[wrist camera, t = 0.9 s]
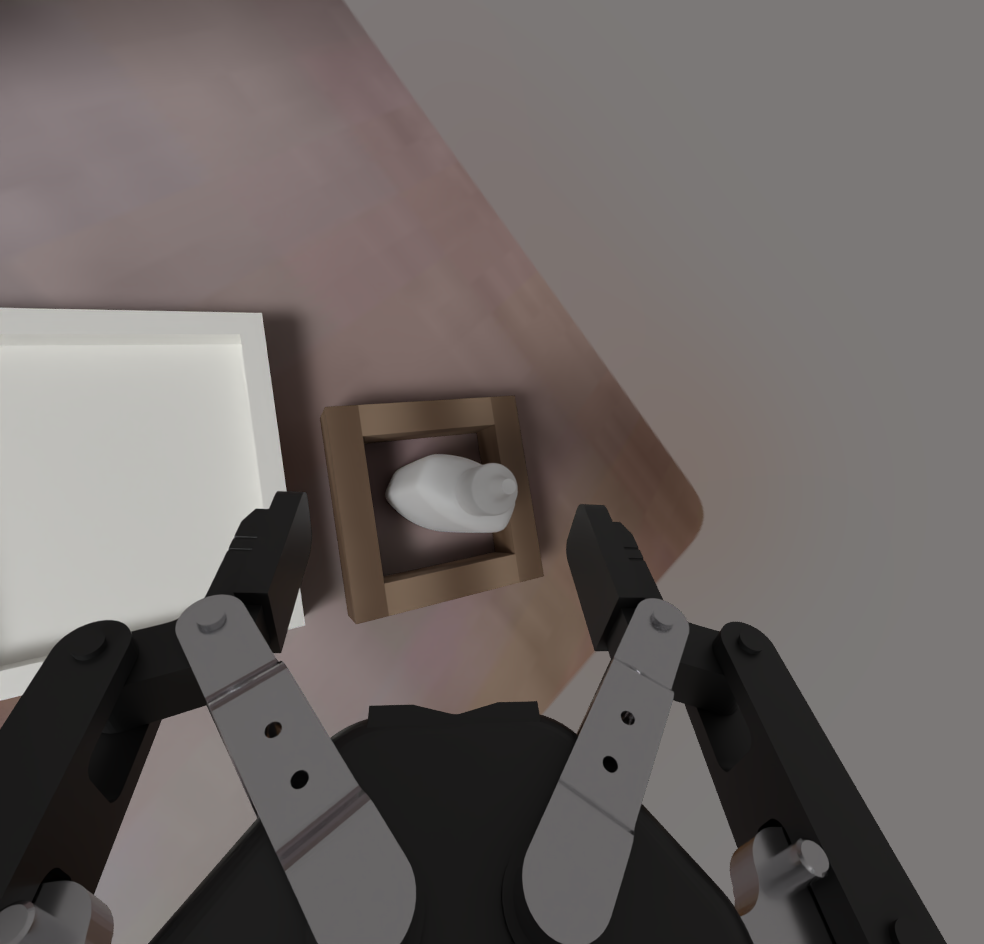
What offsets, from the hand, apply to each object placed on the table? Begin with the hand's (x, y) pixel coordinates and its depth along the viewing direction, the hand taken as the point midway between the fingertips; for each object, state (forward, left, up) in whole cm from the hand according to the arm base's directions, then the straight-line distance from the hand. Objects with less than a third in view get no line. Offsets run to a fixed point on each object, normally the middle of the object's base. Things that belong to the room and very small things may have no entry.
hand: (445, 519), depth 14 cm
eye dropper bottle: (+5, +1, -17) cm, 17 cm away
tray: (-11, +4, -17) cm, 20 cm away
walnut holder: (+5, +1, -17) cm, 17 cm away
